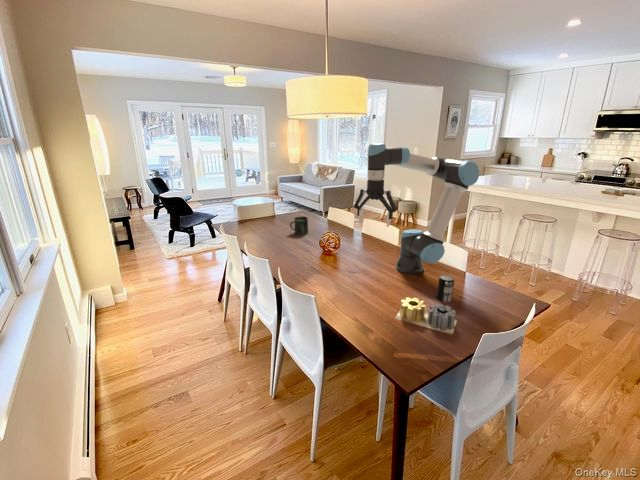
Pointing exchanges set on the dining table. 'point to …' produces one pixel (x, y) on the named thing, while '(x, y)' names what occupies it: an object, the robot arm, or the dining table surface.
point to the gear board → (425, 323)
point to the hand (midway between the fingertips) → (374, 224)
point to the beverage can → (445, 288)
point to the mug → (300, 225)
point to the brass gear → (412, 309)
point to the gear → (441, 317)
